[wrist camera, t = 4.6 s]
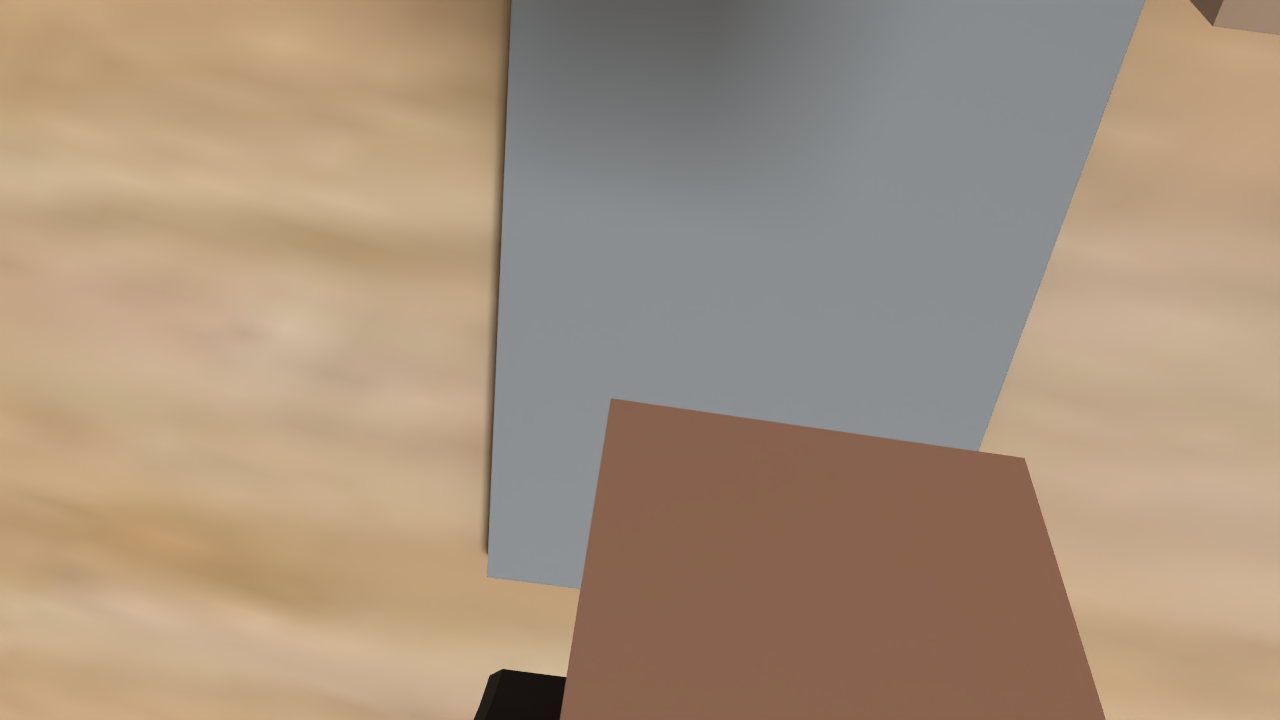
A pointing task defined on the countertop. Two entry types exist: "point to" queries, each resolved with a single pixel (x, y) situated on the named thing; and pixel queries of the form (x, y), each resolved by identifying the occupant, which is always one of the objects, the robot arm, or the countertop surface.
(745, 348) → the slate mat
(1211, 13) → the walnut cradle
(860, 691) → the terracotta block
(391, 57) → the countertop surface
